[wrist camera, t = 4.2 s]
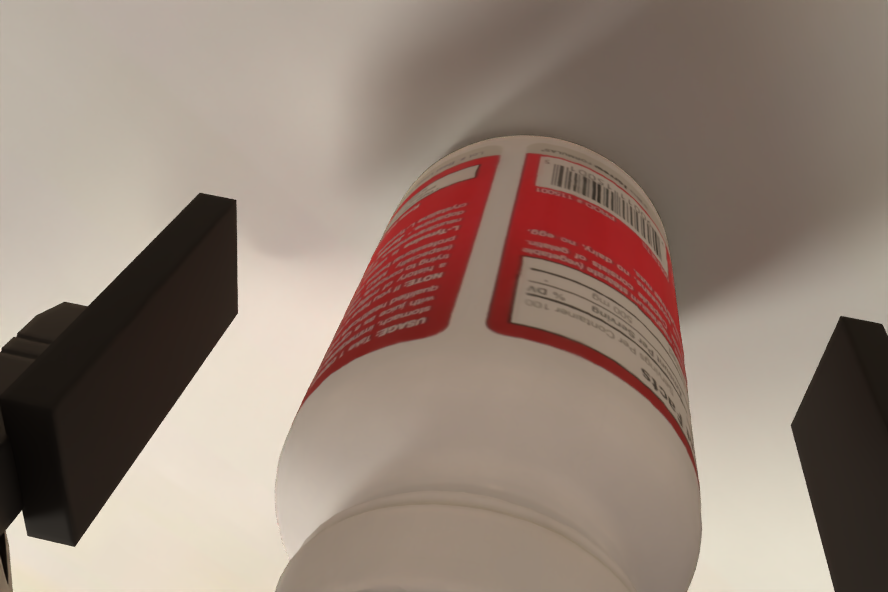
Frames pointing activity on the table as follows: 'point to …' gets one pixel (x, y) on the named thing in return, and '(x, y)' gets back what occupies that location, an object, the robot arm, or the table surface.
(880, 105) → the table surface
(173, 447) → the table surface
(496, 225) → the pill bottle
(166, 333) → the robot arm
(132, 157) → the table surface
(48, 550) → the table surface
